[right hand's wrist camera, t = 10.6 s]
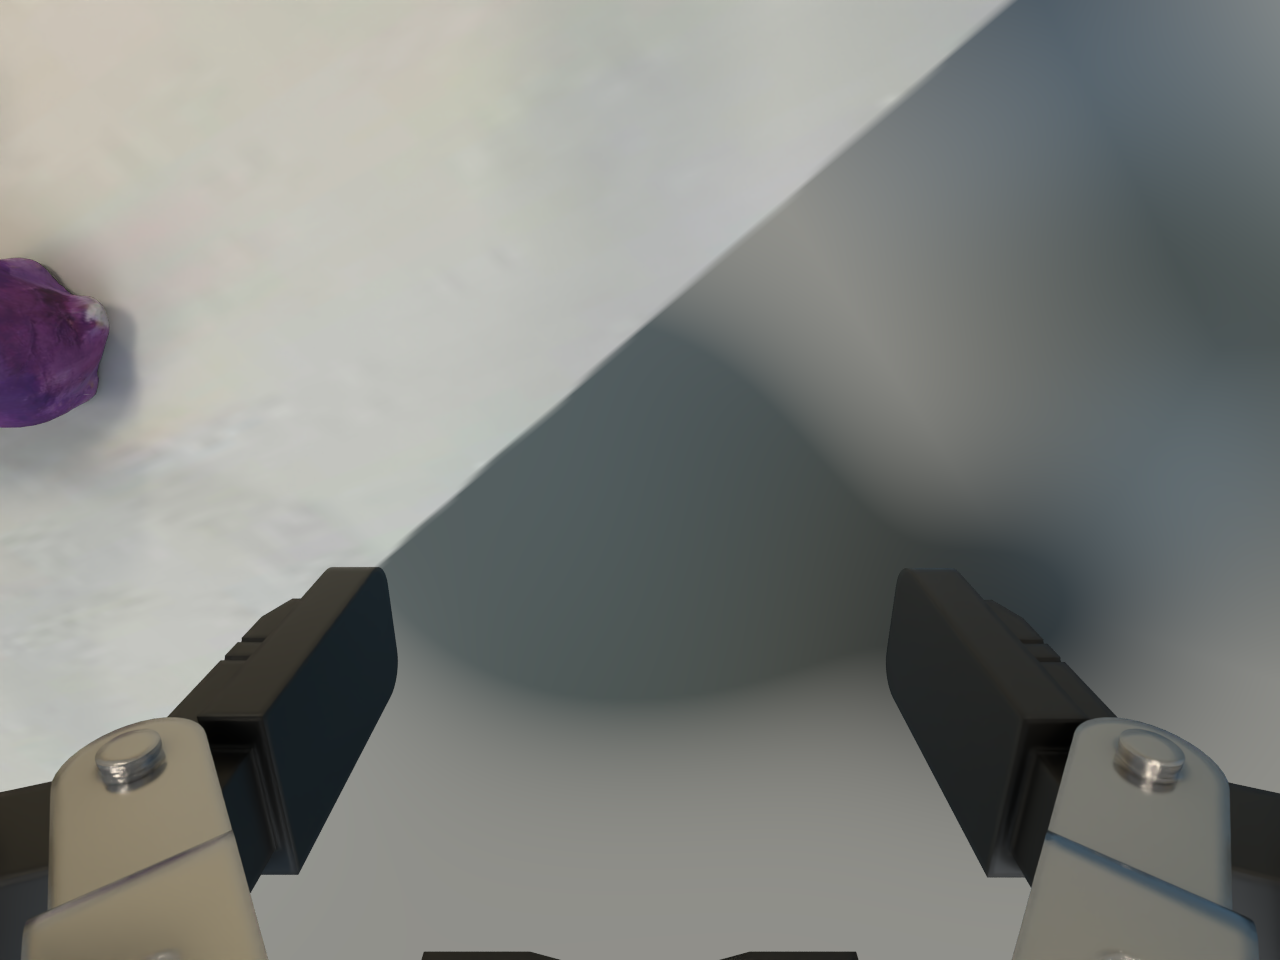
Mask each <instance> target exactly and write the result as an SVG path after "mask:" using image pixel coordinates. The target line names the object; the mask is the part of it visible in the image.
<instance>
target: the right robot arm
mask: <svg viewBox="0 0 1280 960" xmlns="http://www.w3.org/2000/svg"><path fill="white" fill-rule="evenodd" d="M397 667H398V656H397V647H396V640H395V633H394V626H393V619H392V611H391V604H390V597H389V590H388V583H387V579H386V575H385V573H384V571H383V570H382V569H381V568H379V567H330V568H328V569H327V570H326V571H325V572H324V573H323V574H322V575H321V576H320V578H319V579H318V580H317V581H316V582H315V583H314V584H313V586H312V587H311V588H310V589H309V590H308V591H307V592H306V593H305V595H304V596H303V597H302V598H301V599H291V600H289V601H288V602H286V603H284V604H283V605H281V606H279V607H277V608H276V609H274V610H272V611H271V612H269V613H267V614H266V615H264V616H262V617H261V618H260V619H259V620H258V621H257V622H256V623H255V624H254V626H253V627H252V628H251V629H250V630H249V631H248V632H247V633H246V634H245V635H244V636H243V637H242V642H238V643H237V644H236V645H235V646H234V647H233V648H232V649H231V650H230V651H229V652H228V653H227V654H226V655H225V660H221V661H220V662H219V663H218V664H217V665H216V666H215V667H214V668H213V669H212V670H211V671H210V672H209V673H208V674H207V675H206V676H205V678H204V679H203V680H202V681H201V682H200V683H199V684H198V685H197V686H196V687H195V688H194V689H193V690H192V691H191V692H190V693H189V694H188V696H187V697H186V698H185V699H184V700H183V701H182V702H181V703H180V704H179V705H178V706H177V707H176V708H175V709H174V710H173V711H172V713H171V714H170V715H169V716H168V717H166V718H157V719H150V720H146V721H141V722H138V723H134V724H131V725H128V726H125V727H122V728H120V729H117V730H114V731H112V732H110V733H108V734H106V735H104V736H102V737H100V738H98V739H96V740H94V741H93V742H91V743H89V744H88V745H86V746H85V747H83V748H82V749H80V750H79V751H78V752H77V753H75V754H74V755H73V756H72V757H70V758H69V759H68V760H67V761H66V762H65V763H64V764H63V765H62V766H61V768H60V769H59V770H58V772H57V773H56V775H55V777H54V779H53V781H52V782H47V783H42V784H38V785H33V786H28V787H23V788H19V789H14V790H9V791H5V792H0V960H268V957H267V953H266V949H265V946H264V942H263V938H262V935H261V931H260V928H259V924H258V920H257V917H256V913H255V909H254V906H253V902H252V898H251V895H250V893H251V891H252V889H253V888H254V886H255V884H256V882H257V881H258V879H259V877H260V875H298V874H299V872H300V870H301V868H302V866H303V865H304V863H305V861H306V859H307V857H308V855H309V853H310V851H311V849H312V847H313V845H314V843H315V841H316V839H317V838H318V836H319V834H320V832H321V830H322V828H323V826H324V824H325V822H326V820H327V818H328V816H329V814H330V812H331V811H332V808H333V807H334V805H335V803H336V801H337V799H338V797H339V795H340V793H341V791H342V789H343V787H344V785H345V783H346V782H347V780H348V778H349V776H350V774H351V772H352V770H353V768H354V766H355V764H356V762H357V760H358V758H359V757H360V755H361V753H362V751H363V749H364V747H365V745H366V743H367V741H368V739H369V737H370V735H371V733H372V731H373V730H374V727H375V726H376V724H377V722H378V720H379V718H380V716H381V714H382V712H383V710H384V708H385V706H386V704H387V703H388V701H389V699H390V697H391V695H392V692H393V689H394V686H395V682H396V676H397ZM886 672H887V679H888V684H889V688H890V691H891V694H892V696H893V699H894V700H895V702H896V704H897V706H898V708H899V710H900V712H901V714H902V716H903V718H904V719H905V721H906V723H907V725H908V727H909V729H910V731H911V733H912V735H913V737H914V738H915V740H916V742H917V744H918V746H919V748H920V750H921V752H922V754H923V756H924V758H925V759H926V761H927V763H928V765H929V767H930V769H931V771H932V773H933V775H934V777H935V779H936V780H937V782H938V784H939V786H940V788H941V790H942V792H943V794H944V796H945V798H946V799H947V801H948V803H949V805H950V807H951V809H952V811H953V813H954V815H955V817H956V819H957V820H958V822H959V824H960V826H961V828H962V830H963V832H964V834H965V836H966V837H967V839H968V841H969V843H970V845H971V847H972V849H973V851H974V853H975V855H976V857H977V859H978V860H979V862H980V864H981V866H982V868H983V870H984V872H985V874H986V876H987V877H1025V878H1026V880H1027V882H1028V883H1029V885H1030V887H1031V891H1030V895H1029V898H1028V902H1027V906H1026V909H1025V913H1024V917H1023V920H1022V924H1021V928H1020V931H1019V935H1018V938H1017V942H1016V946H1015V949H1014V953H1013V957H1012V960H1280V794H1279V793H1275V792H1270V791H1265V790H1261V789H1256V788H1251V787H1247V786H1242V785H1237V784H1233V783H1229V782H1228V781H1227V779H1226V777H1225V775H1224V773H1223V772H1222V770H1221V769H1220V768H1219V766H1218V765H1217V764H1216V763H1215V762H1214V761H1213V760H1212V759H1211V758H1210V757H1208V756H1207V755H1206V754H1205V753H1203V752H1202V751H1201V750H1200V749H1198V748H1197V747H1195V746H1194V745H1192V744H1191V743H1189V742H1187V741H1186V740H1184V739H1182V738H1180V737H1178V736H1176V735H1174V734H1172V733H1170V732H1168V731H1166V730H1163V729H1160V728H1158V727H1155V726H1152V725H1149V724H1146V723H1142V722H1139V721H1134V720H1129V719H1123V718H1117V716H1116V715H1115V714H1114V713H1113V712H1112V711H1111V710H1110V709H1109V708H1108V707H1107V706H1106V705H1105V704H1104V703H1103V702H1102V701H1101V700H1100V699H1099V698H1098V697H1097V695H1096V694H1095V693H1094V692H1093V691H1092V690H1091V689H1090V688H1089V687H1088V686H1087V685H1086V684H1085V683H1084V682H1083V681H1082V680H1081V679H1080V678H1079V677H1078V675H1077V674H1076V673H1075V672H1074V671H1073V670H1072V669H1071V668H1070V667H1069V666H1068V665H1067V664H1066V663H1065V662H1061V661H1060V657H1059V655H1058V654H1057V653H1056V652H1055V651H1054V650H1053V649H1052V648H1051V647H1050V646H1049V645H1048V644H1044V643H1043V639H1042V638H1041V637H1040V636H1039V634H1038V633H1037V632H1036V631H1035V630H1034V629H1033V628H1032V627H1031V626H1030V625H1029V624H1028V623H1027V622H1026V621H1025V620H1024V619H1023V618H1022V617H1020V616H1018V615H1017V614H1015V613H1013V612H1012V611H1010V610H1008V609H1007V608H1005V607H1003V606H1001V605H1000V604H998V603H996V602H995V601H993V600H983V598H982V597H981V596H980V595H979V594H978V593H977V592H976V591H975V590H974V588H973V587H972V586H971V585H970V584H969V583H968V582H967V581H966V579H965V578H964V577H963V576H962V575H961V574H960V573H959V572H958V571H957V570H956V569H953V568H905V569H903V570H902V571H901V572H900V574H899V576H898V579H897V584H896V590H895V597H894V604H893V611H892V618H891V626H890V632H889V639H888V646H887V654H886ZM422 960H559V959H555V958H551V957H548V956H544V955H540V954H537V953H533V952H424V953H423V957H422ZM721 960H858V957H857V953H856V952H747V953H743V954H740V955H736V956H733V957H729V958H725V959H721Z"/></svg>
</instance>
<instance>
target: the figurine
mask: <svg viewBox="0 0 1280 960" xmlns="http://www.w3.org/2000/svg"><path fill="white" fill-rule="evenodd" d="M108 334H109V321H108V317H107V313H106V311H105V309H104V307H103V305H102V304H101V303H100V302H98V301H97V300H96V299H95V298H93V297H90V296H77V295H72V294H71V293H69V292H68V291H67V290H66V289H65V288H64V287H63V286H62V285H60V284H58V282H57V281H56V280H55V279H54V278H53V277H52V276H51V274H50V273H49V272H48V271H47V270H46V269H45V268H44V267H43V266H42V265H40V264H39V263H38V262H36V261H33V260H30V259H23V258H10V259H2V260H0V427H1V428H12V427H26V426H33V425H37V424H41V423H45V422H48V421H50V420H52V419H54V418H57V417H59V416H61V415H63V414H65V413H67V412H69V411H70V410H72V409H73V408H75V407H77V406H79V405H81V404H83V403H85V402H87V401H89V400H90V399H91V398H92V397H93V396H94V395H95V394H96V392H97V386H98V381H99V378H98V375H97V371H98V366H99V362H100V360H101V358H102V354H103V351H104V347H105V344H106V340H107V337H108Z"/></svg>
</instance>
